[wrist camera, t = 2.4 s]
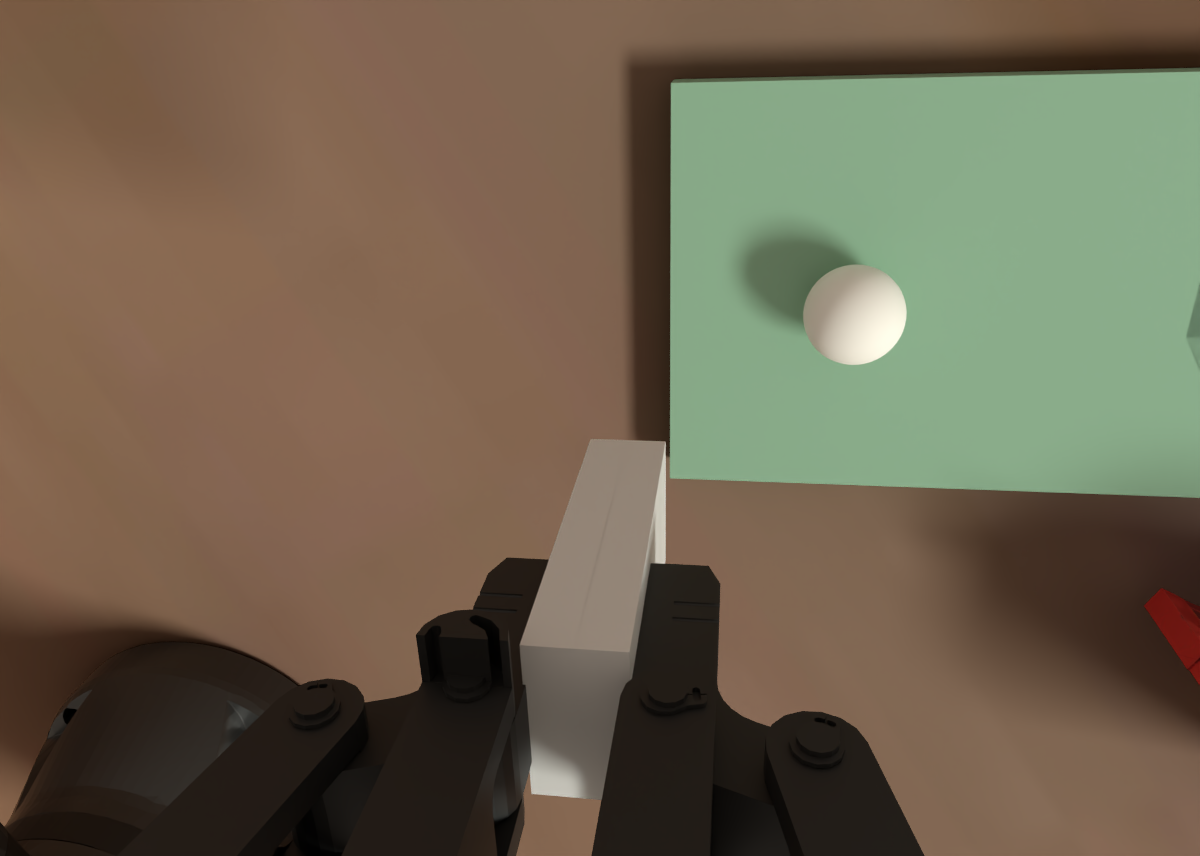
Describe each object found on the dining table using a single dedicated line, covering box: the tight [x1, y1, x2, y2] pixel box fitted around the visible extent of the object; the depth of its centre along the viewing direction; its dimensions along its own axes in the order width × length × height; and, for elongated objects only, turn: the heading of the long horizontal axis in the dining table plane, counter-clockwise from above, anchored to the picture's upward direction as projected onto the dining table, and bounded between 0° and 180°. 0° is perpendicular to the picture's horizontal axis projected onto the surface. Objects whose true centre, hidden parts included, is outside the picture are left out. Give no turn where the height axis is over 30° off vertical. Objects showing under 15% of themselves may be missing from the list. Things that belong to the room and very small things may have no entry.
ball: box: [803, 264, 907, 365], centre depth 29 cm, size 3×3×3 cm
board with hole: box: [670, 68, 1200, 498], centre depth 30 cm, size 28×14×4 cm, turn 92°
